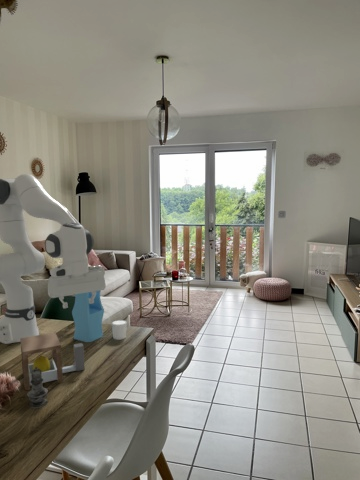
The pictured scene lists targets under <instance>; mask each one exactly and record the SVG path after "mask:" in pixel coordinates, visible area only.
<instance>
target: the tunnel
mask: <svg viewBox="0 0 360 480" xmlns="http://www.w3.org/2000/svg"><path fill="white" fill-rule="evenodd" d="M20 341H21V342H20V353H21V355H20V357H21V368H22V376H23V378H24V381H23V382H24V390H25V391H28V390H29V391H30V390H31V385H30V381H29V365H28V364H29V357H28V356H29V355H34V354H38V353H39V354H40V353H43V352H49V351H51V352H52V353H51V355H52V360H53V359H54V362H55V365H56V368H57V378H58V379H57V383H59V384H60V383H63V382H64V380H63V379H64V377H63V376H64V375H63V373H62V367H63V361H62V358H63V356H62V345H61V342H60V340H59V337H58V335H57V333H56V332H51V333H45V334H44V333H43V334H39V335H37V336H31V337H25V338H20Z"/></svg>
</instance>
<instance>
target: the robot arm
mask: <svg viewBox="0 0 360 480" xmlns="http://www.w3.org/2000/svg"><path fill="white" fill-rule="evenodd" d="M25 213H26V214H27V215H29V216H31V217H33V218H37V219H43V220H50V221H54V222H56V223H58V224H60V225H61V226H60V228H59V229H58V230H56V231H55V232H52V233H49V234H48V235H47V237H46V238H45V241H44V249H45V252H46V254H47V255H48V256H50V257H51V258H53V259H60V258H62V264H60V265H57V266H55V267H53V268H50V269H49V274H50V275H51V276H49V277H48V280H47V296H48V297H49V298H51V299H55V298H58V299H59V301H60V302H61V303H62V308H63V309H67V308H69V306H68V304H69V303H68V302H67V301H64V299H65V297H68V296H75V294H81V293H88V292H91V293H92V297H91V298H89V304H93V303H94V298H95V296H96V294H97V293H96V291H100V290H101V291H104V290H105V289H106V287H107V286H106V278H105V274H106V273H105V271H106V269H105V268H104V266H101V265H92V266H90V265H89V258H88V255H89V254H90V253H91V252H92V250H93V248H94V246H95V239H94V236H93V235H92V233H91V232H90V231H89V230H88V229H86V228H85V227H84V225H82V224H81V223H80V222H79V221H78V219H76V218H75V216H73V214H72V213H71V211H69V209H68V208H67V207H66V206H65V205H64V204H63V203H61V202H59V201H57V200H56V199H54V198H53V197H52V196H51V195H50V194H49V193H48V192H47V190H46V189H45V187H44V185H43V184H42V183H41V182H40V181H39V179H37V177H35V176H34V175H33V174H30V173H23V174H20V175H18V176H17V177H14V178H3V179H2V178H0V239H1V242H3V243H4V244H5V245H8V246H10V247H11V249H12V250H13V252H8V253H3V254H0V285H1V286H2V288H3V290H4V292H5V293H4V294H5V298H6V299H5V301H6V307H5V308H3V309H2V311H3V312H4V315H3V316H2V317H1V318H0V343H2V344H5V345H9V344H12V343H13V344H15V343H21V341H20V338H25V337H31V336H37V335H40V332H39V331H40V329H39V327H38V323H37V317H36V314H35V313H36V306H35V303H34V293H33V291H34V290H33V289H32V286H30V285H28V284H25V283H24V282H23V281H22V277H23V276H28V275H29V276H30V275H33V274H36V273H38V272H40V271H42V270H43V269H44V268H45V265H46V259H45V256H44V254H43V253H42V252H41V251H39V250H38V249H37V248H35V247H34V245H33V243H32V242H31V240H30V238H29V235H28V229H27V223H26V217H25ZM101 291H100V292H101Z"/></svg>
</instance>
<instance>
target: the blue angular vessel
mask: <svg viewBox="0 0 360 480" xmlns="http://www.w3.org/2000/svg"><path fill="white" fill-rule="evenodd" d="M101 292H102V290H100V291H96V293H97V294H96V296H95V298H94V303H93V304H89V298H91V297H92V293H91V292H88V293H81V294H75V295H74V296H75V299H74V305H73V307H72V311H71V315H72V318H73V322H74V334H73V339H74V340H77V341H81V342H84V343H91V342H94V341H97V340H99V339H101V338H103V337H104V333H103V317H104V313H105V309H104V306H103V304H102V300H101Z"/></svg>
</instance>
